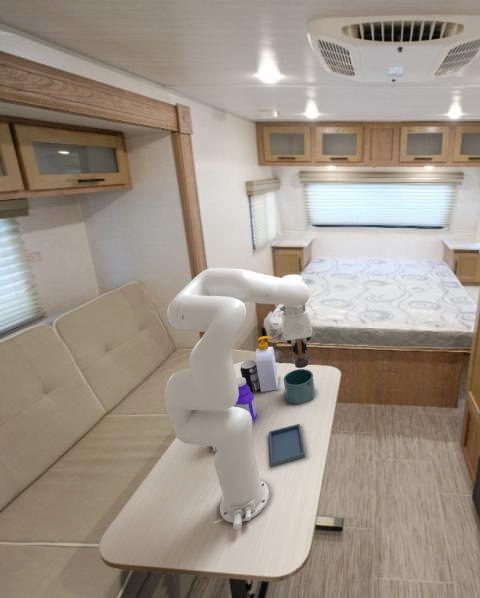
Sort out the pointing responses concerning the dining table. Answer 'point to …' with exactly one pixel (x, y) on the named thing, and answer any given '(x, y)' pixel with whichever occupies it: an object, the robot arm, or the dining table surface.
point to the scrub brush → (300, 355)
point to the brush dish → (286, 445)
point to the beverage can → (250, 375)
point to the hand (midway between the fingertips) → (300, 352)
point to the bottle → (246, 398)
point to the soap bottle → (266, 366)
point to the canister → (299, 386)
